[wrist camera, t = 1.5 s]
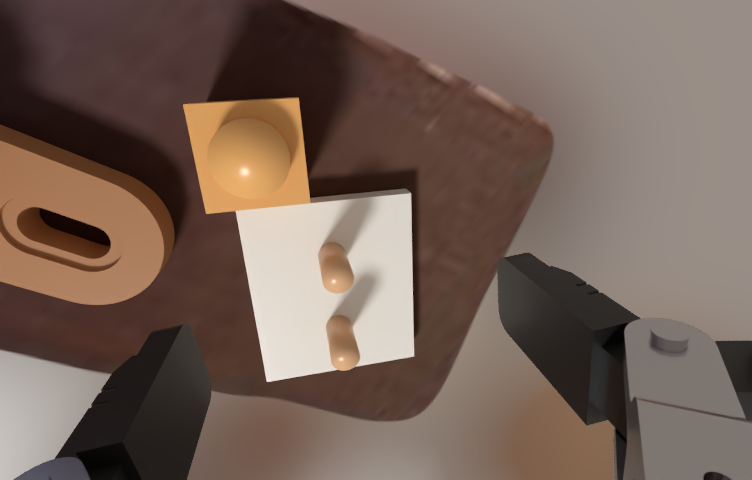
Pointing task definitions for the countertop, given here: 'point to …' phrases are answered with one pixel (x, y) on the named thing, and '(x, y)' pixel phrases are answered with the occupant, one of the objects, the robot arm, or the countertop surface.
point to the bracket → (83, 203)
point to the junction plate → (303, 282)
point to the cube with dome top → (249, 153)
